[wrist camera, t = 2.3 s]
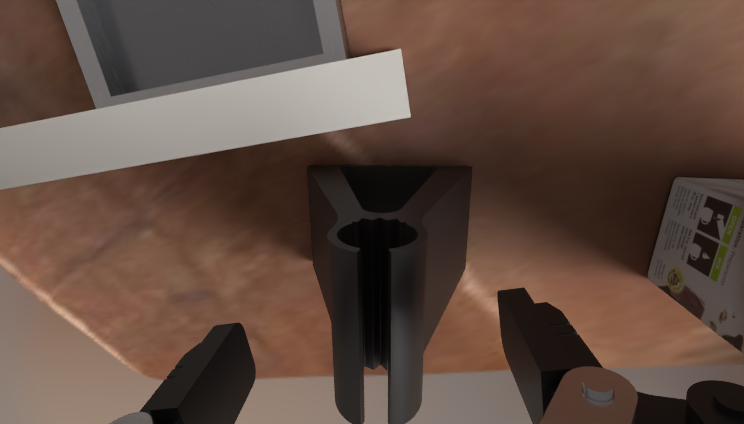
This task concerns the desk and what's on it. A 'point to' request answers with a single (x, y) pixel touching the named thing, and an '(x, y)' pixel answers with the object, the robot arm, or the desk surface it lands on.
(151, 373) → the desk surface
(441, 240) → the phone stand
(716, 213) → the coffee box
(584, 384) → the robot arm
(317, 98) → the door edge
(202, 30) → the open tray
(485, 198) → the desk surface
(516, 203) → the desk surface
